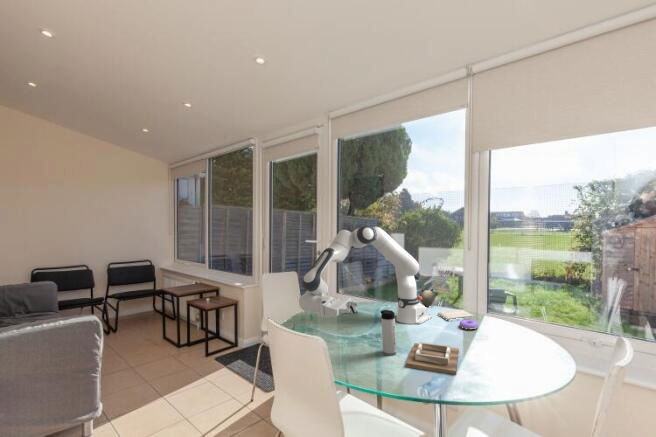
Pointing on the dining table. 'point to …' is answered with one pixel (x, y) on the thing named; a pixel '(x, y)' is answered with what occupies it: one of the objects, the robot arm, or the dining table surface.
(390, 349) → the travel mug
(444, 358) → the dock
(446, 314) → the washcloth
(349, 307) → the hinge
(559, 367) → the dining table surface
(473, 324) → the donut
